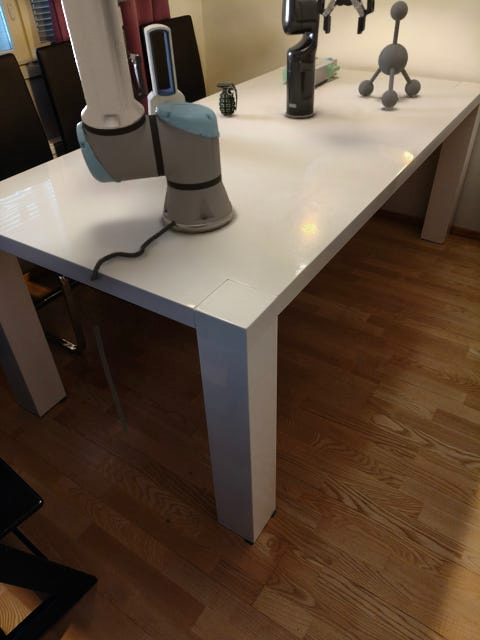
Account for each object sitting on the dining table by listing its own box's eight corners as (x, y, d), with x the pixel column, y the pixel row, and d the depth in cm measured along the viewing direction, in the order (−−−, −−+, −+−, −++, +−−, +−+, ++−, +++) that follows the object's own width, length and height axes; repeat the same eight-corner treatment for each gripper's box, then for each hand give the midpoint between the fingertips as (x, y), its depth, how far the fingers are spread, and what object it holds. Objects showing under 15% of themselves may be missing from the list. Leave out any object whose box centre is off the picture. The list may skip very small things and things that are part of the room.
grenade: (217, 117, 168) (214, 86, 162) (221, 112, 172) (219, 82, 166) (235, 117, 166) (233, 86, 160) (239, 113, 171) (238, 82, 165)
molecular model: (440, 102, 169) (459, -1, 151) (386, 111, 163) (400, 6, 145) (398, 88, 187) (412, -5, 168) (348, 96, 181) (356, 0, 162)
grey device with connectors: (305, 54, 216) (346, 57, 206) (304, 70, 220) (345, 74, 210) (274, 66, 200) (317, 69, 190) (274, 83, 204) (316, 87, 194)
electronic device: (152, 140, 151) (135, 28, 133) (149, 133, 157) (132, 25, 139) (192, 134, 154) (180, 24, 135) (187, 128, 159) (175, 21, 141)
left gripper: (143, 23, 120) (157, 120, 135) (65, 31, 115) (88, 131, 130) (150, 26, 115) (164, 127, 129) (68, 35, 110) (92, 139, 124)
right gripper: (383, -47, 115) (374, 31, 125) (325, -45, 121) (322, 30, 131) (374, -46, 110) (366, 36, 120) (314, -43, 116) (311, 35, 126)
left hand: (126, 129), depth 129 cm, fingers closed on box, 6 cm apart
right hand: (343, 33), depth 125 cm, fingers open, 8 cm apart
